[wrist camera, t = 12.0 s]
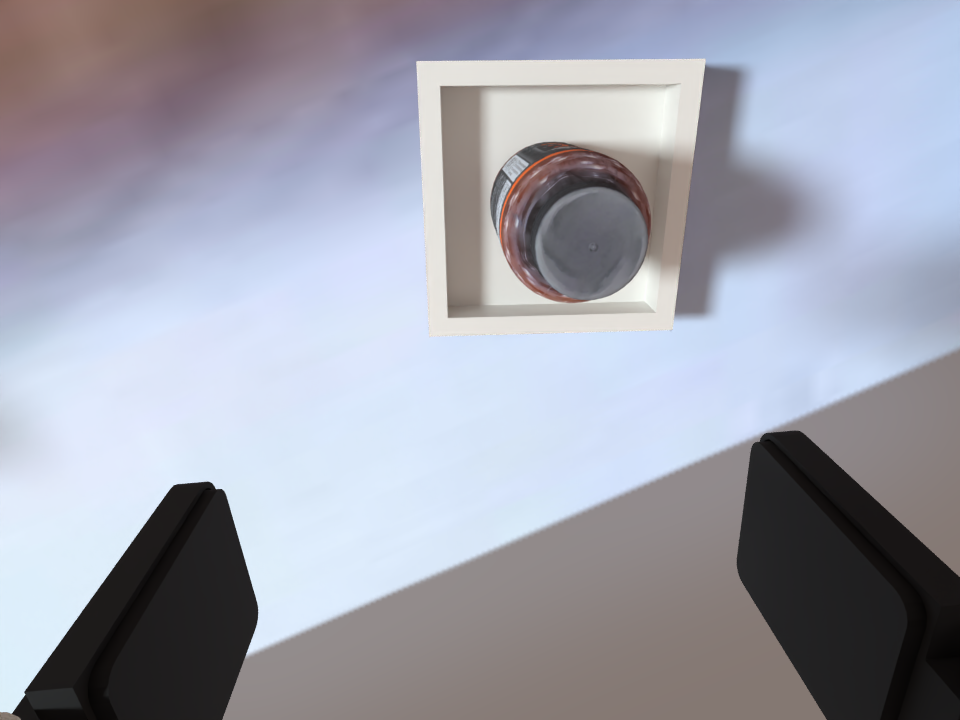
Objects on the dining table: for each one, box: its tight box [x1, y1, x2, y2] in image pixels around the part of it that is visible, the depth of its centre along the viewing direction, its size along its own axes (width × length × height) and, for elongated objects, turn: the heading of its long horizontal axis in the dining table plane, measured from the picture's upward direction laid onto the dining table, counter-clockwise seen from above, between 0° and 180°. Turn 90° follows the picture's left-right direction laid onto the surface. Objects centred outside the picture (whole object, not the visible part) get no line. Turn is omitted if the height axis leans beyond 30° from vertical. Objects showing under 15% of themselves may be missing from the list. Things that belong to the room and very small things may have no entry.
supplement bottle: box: [490, 142, 651, 303], centre depth 26 cm, size 6×6×11 cm
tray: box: [416, 59, 706, 337], centre depth 31 cm, size 13×13×3 cm
